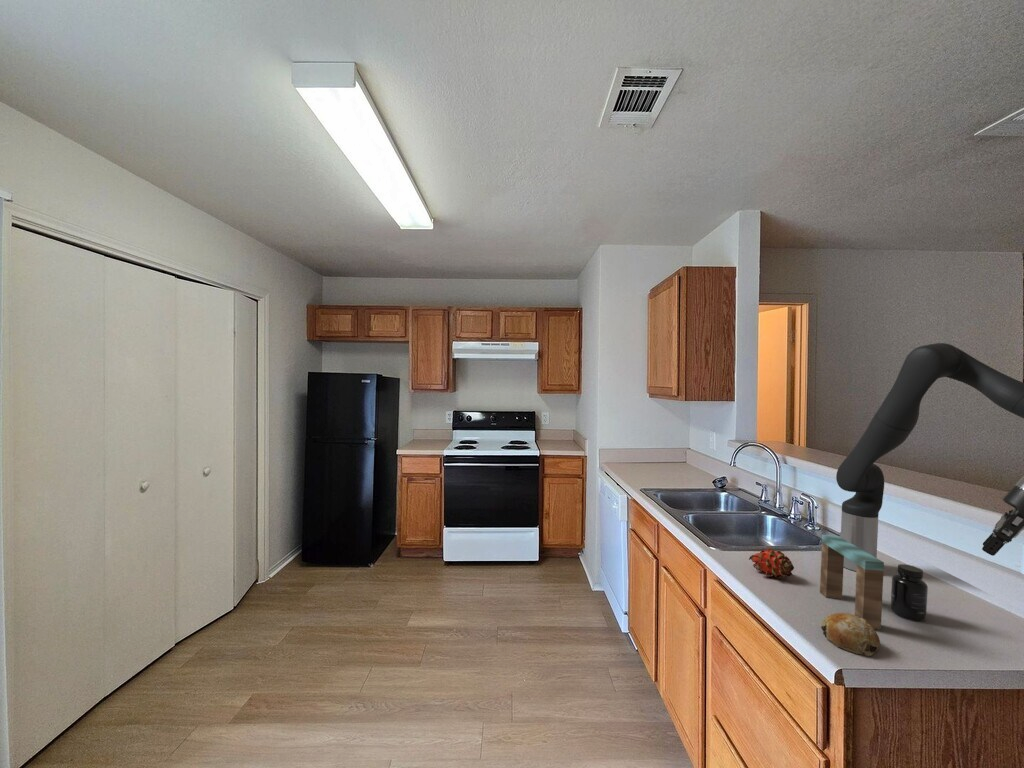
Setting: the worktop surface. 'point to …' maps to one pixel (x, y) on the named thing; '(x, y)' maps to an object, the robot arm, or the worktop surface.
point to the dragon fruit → (772, 563)
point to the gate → (866, 577)
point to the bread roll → (851, 633)
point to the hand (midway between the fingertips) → (987, 550)
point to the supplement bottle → (909, 593)
